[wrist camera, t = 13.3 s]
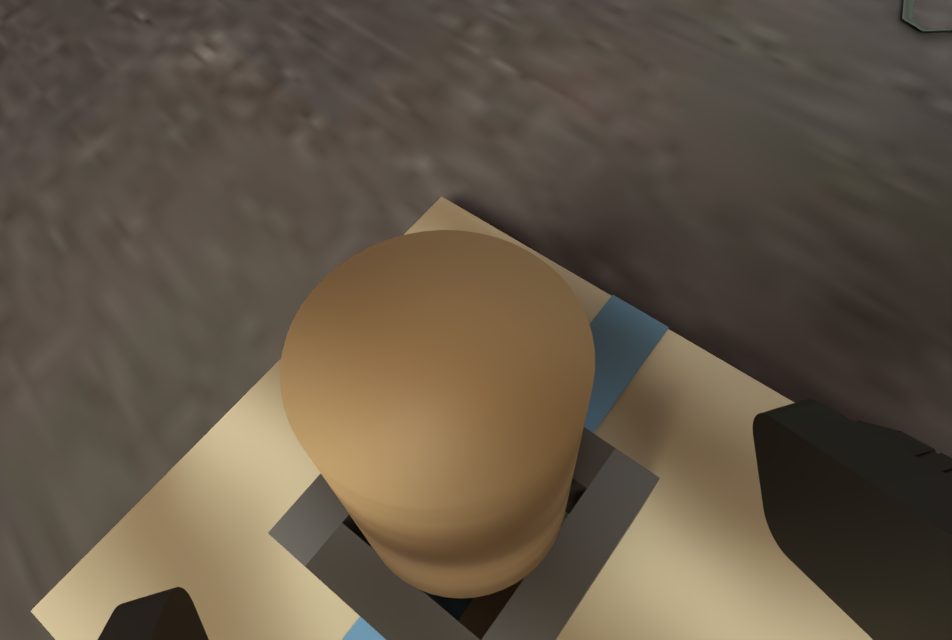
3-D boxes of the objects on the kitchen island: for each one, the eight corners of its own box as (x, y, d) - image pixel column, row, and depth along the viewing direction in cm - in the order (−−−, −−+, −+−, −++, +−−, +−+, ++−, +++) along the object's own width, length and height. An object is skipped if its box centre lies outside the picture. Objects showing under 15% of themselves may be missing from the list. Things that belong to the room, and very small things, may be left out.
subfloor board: (445, 222, 25) (432, 134, 21) (1016, 565, 19) (1148, 526, 15) (63, 618, 19) (-52, 593, 15) (711, 1347, 12) (799, 1640, 8)
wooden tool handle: (460, 428, 20) (421, 188, 11) (588, 522, 18) (655, 325, 10) (354, 552, 18) (214, 379, 10) (486, 668, 16) (458, 584, 8)
